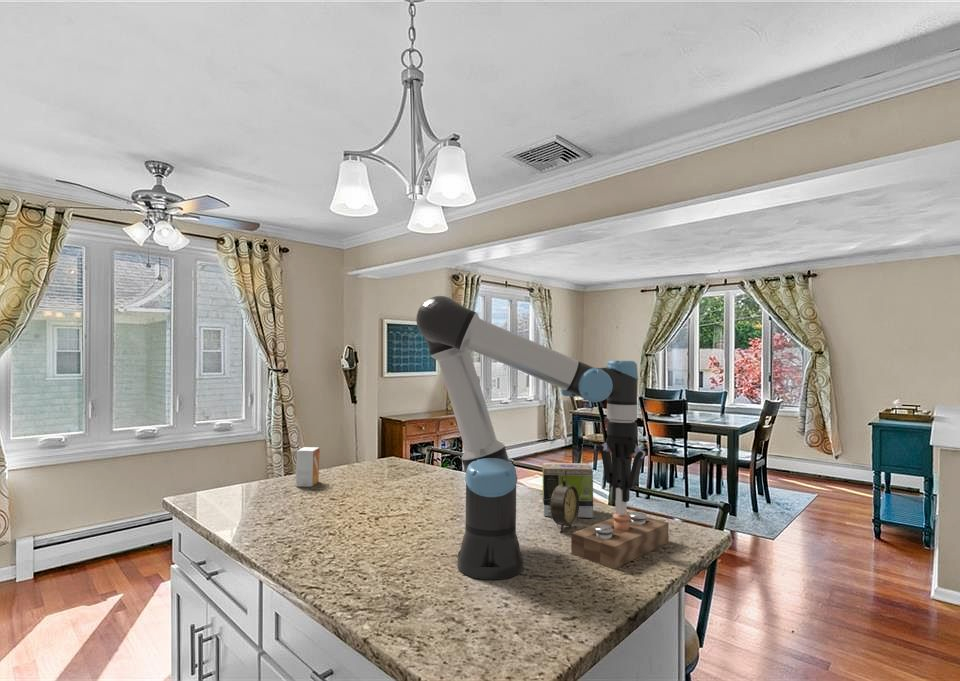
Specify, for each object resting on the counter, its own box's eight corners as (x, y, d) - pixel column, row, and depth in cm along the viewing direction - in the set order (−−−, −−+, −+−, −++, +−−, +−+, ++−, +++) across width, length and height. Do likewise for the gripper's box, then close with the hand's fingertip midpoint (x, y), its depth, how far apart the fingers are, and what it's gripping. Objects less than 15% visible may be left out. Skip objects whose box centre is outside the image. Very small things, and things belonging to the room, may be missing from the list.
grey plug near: (606, 553, 121) (606, 532, 121) (591, 548, 124) (591, 527, 124) (616, 549, 124) (616, 528, 124) (601, 544, 127) (601, 523, 127)
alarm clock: (564, 535, 138) (565, 475, 139) (546, 531, 141) (547, 472, 141) (580, 524, 147) (580, 468, 148) (562, 521, 150) (563, 465, 151)
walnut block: (614, 569, 116) (614, 547, 116) (571, 553, 125) (571, 533, 125) (668, 541, 134) (668, 522, 134) (627, 530, 143) (627, 512, 143)
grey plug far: (641, 537, 132) (641, 518, 132) (626, 533, 135) (626, 514, 135) (649, 533, 135) (649, 514, 135) (634, 529, 138) (634, 511, 138)
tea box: (589, 509, 162) (589, 462, 163) (593, 519, 152) (593, 469, 153) (542, 507, 164) (542, 461, 164) (542, 517, 154) (543, 467, 154)
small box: (312, 487, 185) (313, 450, 186) (295, 486, 185) (295, 450, 186) (319, 481, 193) (320, 446, 194) (302, 481, 193) (303, 446, 194)
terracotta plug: (624, 539, 127) (624, 519, 127) (609, 535, 130) (609, 515, 130) (633, 535, 130) (634, 515, 130) (618, 531, 133) (618, 511, 133)
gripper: (652, 422, 128) (652, 516, 128) (608, 417, 138) (607, 505, 137) (637, 424, 123) (636, 523, 122) (591, 419, 133) (591, 510, 132)
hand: (621, 513), depth 130 cm, fingers closed
